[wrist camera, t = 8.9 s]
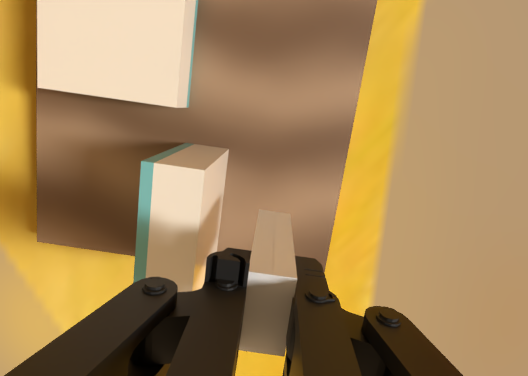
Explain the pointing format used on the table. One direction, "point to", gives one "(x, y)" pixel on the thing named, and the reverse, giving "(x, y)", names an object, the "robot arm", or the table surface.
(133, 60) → the tile
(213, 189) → the tile
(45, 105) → the walnut board
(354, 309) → the table surface
